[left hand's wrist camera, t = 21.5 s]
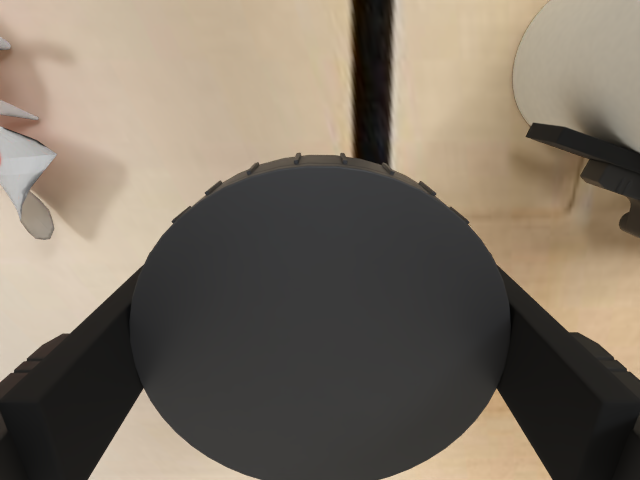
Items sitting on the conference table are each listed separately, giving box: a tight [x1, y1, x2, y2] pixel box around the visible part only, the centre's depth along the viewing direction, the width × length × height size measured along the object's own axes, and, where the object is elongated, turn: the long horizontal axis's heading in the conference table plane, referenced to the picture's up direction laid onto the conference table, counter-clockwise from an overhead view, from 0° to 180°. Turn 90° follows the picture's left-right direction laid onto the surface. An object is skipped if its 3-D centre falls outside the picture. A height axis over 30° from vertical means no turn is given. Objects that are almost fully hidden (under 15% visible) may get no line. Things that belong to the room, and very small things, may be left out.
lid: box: [129, 153, 511, 480], centre depth 11 cm, size 10×10×2 cm
